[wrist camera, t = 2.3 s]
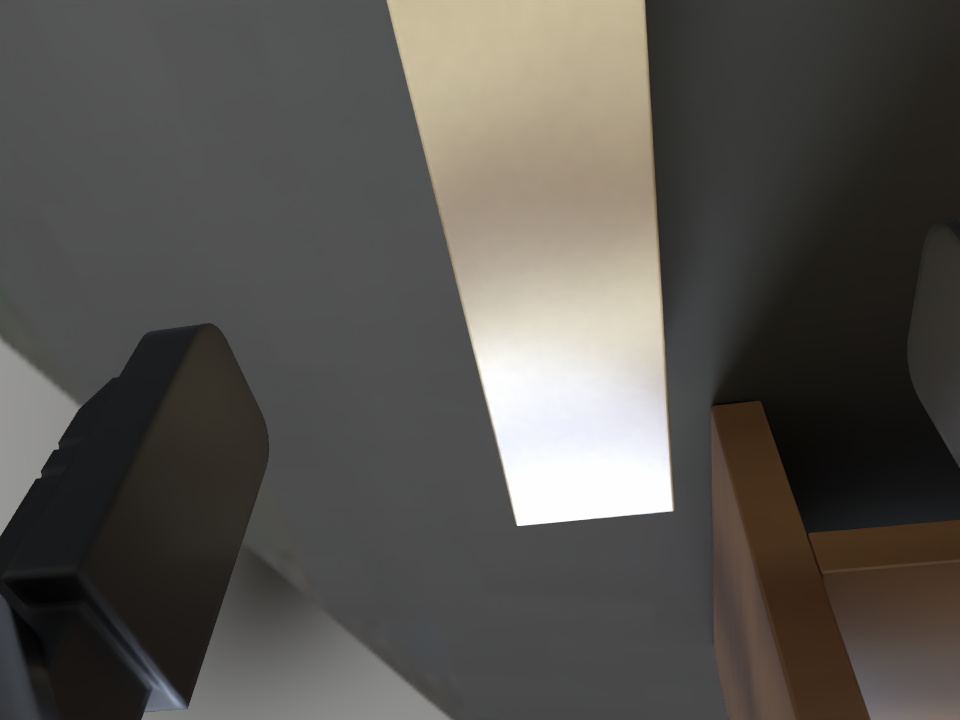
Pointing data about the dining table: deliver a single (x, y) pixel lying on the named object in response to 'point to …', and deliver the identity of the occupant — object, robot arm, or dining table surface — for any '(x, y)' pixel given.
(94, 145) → the dining table surface
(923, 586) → the shelf
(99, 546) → the robot arm
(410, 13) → the beech stick
